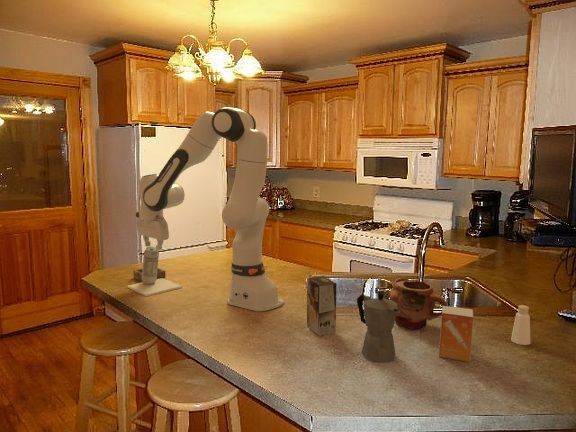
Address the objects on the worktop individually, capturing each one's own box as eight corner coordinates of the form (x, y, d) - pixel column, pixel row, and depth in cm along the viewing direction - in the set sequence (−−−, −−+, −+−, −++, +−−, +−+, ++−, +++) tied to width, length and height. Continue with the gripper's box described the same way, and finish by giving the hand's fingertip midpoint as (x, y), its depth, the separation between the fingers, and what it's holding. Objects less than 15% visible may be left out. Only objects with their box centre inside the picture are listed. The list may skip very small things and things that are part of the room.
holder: (165, 278, 194) (165, 270, 193) (144, 283, 187) (144, 275, 186) (154, 273, 201) (154, 266, 200) (133, 278, 194) (133, 270, 194)
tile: (182, 287, 181) (182, 286, 181) (146, 296, 170) (145, 294, 169) (162, 279, 192) (162, 278, 192) (127, 287, 181) (127, 285, 181)
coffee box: (336, 333, 136) (337, 283, 134) (318, 336, 134) (319, 285, 132) (323, 322, 145) (323, 275, 142) (305, 325, 142) (306, 277, 140)
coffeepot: (408, 359, 119) (411, 296, 116) (384, 369, 114) (387, 303, 111) (367, 339, 132) (369, 282, 129) (344, 347, 126) (345, 287, 124)
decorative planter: (452, 327, 141) (455, 286, 139) (440, 340, 131) (442, 296, 129) (394, 313, 153) (396, 275, 151) (379, 324, 143) (380, 283, 141)
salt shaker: (507, 337, 134) (510, 303, 132) (525, 337, 134) (528, 303, 132) (515, 345, 128) (518, 309, 127) (534, 345, 128) (537, 309, 127)
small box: (438, 357, 120) (441, 312, 119) (439, 348, 126) (442, 305, 124) (470, 362, 118) (473, 316, 116) (470, 352, 123) (473, 308, 121)
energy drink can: (157, 279, 187) (160, 246, 183) (155, 285, 182) (158, 252, 178) (142, 277, 186) (145, 245, 182) (140, 284, 180) (143, 251, 176)
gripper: (172, 216, 171) (173, 250, 173) (147, 211, 186) (148, 243, 187) (157, 217, 167) (159, 253, 169) (133, 212, 181) (134, 245, 183)
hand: (153, 247), depth 178 cm, fingers open, 8 cm apart
